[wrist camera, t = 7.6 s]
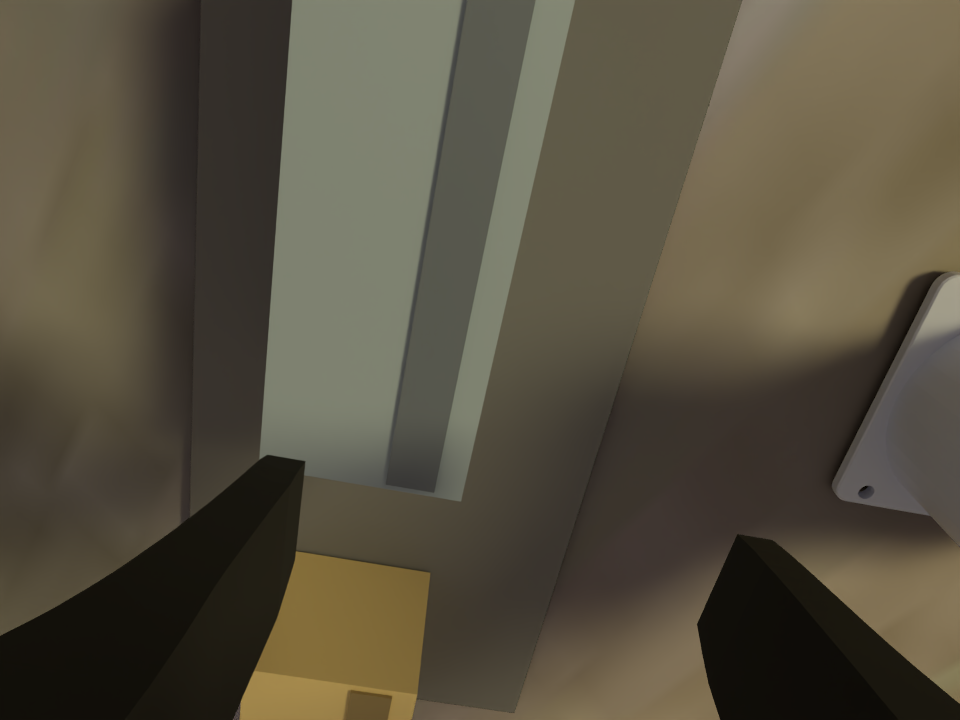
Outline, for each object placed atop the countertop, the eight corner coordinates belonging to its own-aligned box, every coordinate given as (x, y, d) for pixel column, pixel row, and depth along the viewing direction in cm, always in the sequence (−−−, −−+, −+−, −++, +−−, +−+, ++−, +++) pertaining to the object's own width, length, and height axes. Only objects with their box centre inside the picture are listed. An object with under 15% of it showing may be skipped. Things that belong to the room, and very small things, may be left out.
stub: (430, 572, 24) (417, 697, 20) (405, 688, 27) (388, 823, 22) (289, 550, 24) (242, 672, 19) (277, 670, 26) (233, 803, 22)
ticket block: (559, -24, 17) (586, -48, 12) (466, 404, 22) (460, 504, 17) (352, -71, 16) (299, -115, 12) (307, 376, 21) (257, 470, 17)
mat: (738, -5, 17) (744, -6, 17) (513, 704, 28) (514, 713, 28) (209, -127, 16) (203, -131, 16) (190, 656, 27) (186, 665, 27)
